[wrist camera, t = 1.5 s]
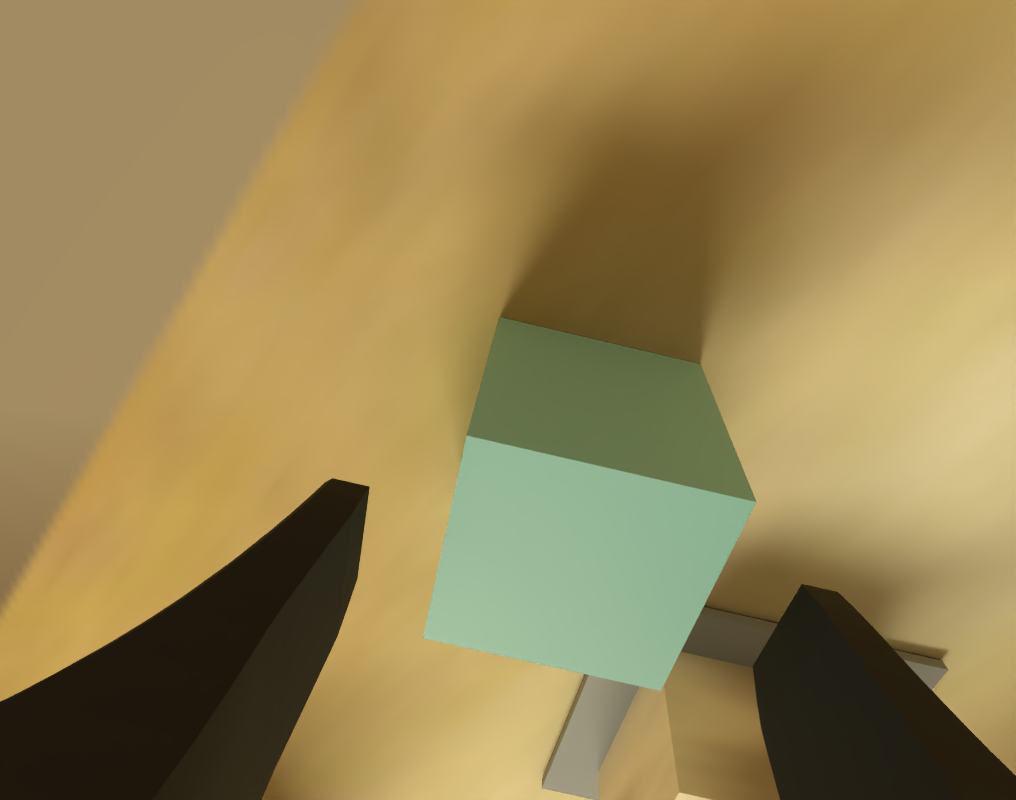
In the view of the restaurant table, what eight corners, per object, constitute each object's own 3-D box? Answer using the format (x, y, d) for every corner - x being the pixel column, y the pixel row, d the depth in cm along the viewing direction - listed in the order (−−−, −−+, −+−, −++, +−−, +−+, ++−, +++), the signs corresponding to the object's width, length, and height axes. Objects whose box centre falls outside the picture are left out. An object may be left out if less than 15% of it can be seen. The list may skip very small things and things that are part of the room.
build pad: (942, 660, 18) (947, 670, 17) (800, 835, 22) (803, 845, 22) (620, 588, 17) (621, 596, 17) (542, 779, 22) (541, 788, 21)
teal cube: (699, 362, 14) (756, 502, 10) (636, 519, 16) (660, 691, 12) (499, 315, 14) (466, 435, 10) (463, 479, 16) (422, 638, 12)
